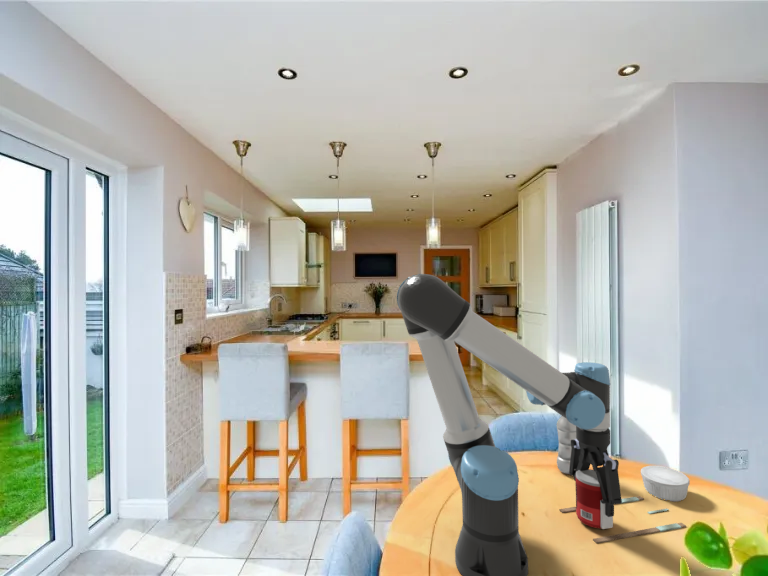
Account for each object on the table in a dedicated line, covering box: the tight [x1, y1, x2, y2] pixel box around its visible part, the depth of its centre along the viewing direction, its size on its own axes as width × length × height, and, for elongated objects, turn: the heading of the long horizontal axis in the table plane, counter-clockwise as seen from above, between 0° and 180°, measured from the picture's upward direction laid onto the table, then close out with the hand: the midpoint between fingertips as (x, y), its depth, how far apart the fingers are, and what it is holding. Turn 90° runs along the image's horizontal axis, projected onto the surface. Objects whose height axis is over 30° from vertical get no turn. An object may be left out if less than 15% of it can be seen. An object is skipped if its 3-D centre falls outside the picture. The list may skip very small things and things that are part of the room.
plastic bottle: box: [556, 415, 576, 475], centre depth 124 cm, size 6×7×20 cm
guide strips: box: [559, 496, 687, 544], centre depth 101 cm, size 27×14×1 cm, turn 102°
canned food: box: [575, 468, 603, 529], centre depth 99 cm, size 8×8×11 cm
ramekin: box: [640, 465, 691, 502], centre depth 111 cm, size 11×11×5 cm
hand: (593, 516), depth 99 cm, fingers closed on canned food, 8 cm apart
